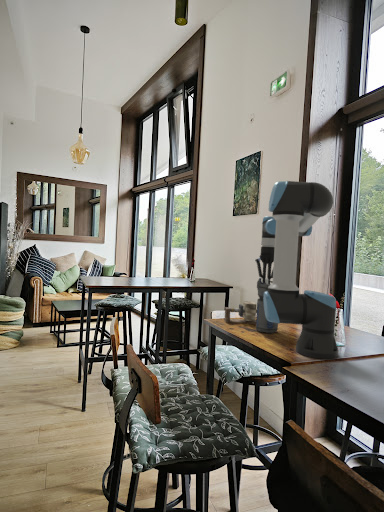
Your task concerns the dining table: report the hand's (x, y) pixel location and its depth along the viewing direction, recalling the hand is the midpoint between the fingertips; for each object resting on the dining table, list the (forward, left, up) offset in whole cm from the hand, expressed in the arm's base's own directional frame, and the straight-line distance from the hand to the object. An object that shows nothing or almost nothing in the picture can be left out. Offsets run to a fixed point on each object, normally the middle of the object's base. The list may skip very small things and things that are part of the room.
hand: (265, 291), depth 181 cm
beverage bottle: (-18, +3, -17) cm, 25 cm away
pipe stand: (0, +10, -17) cm, 19 cm away
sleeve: (0, +8, -15) cm, 17 cm away
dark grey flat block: (0, +13, -14) cm, 19 cm away
